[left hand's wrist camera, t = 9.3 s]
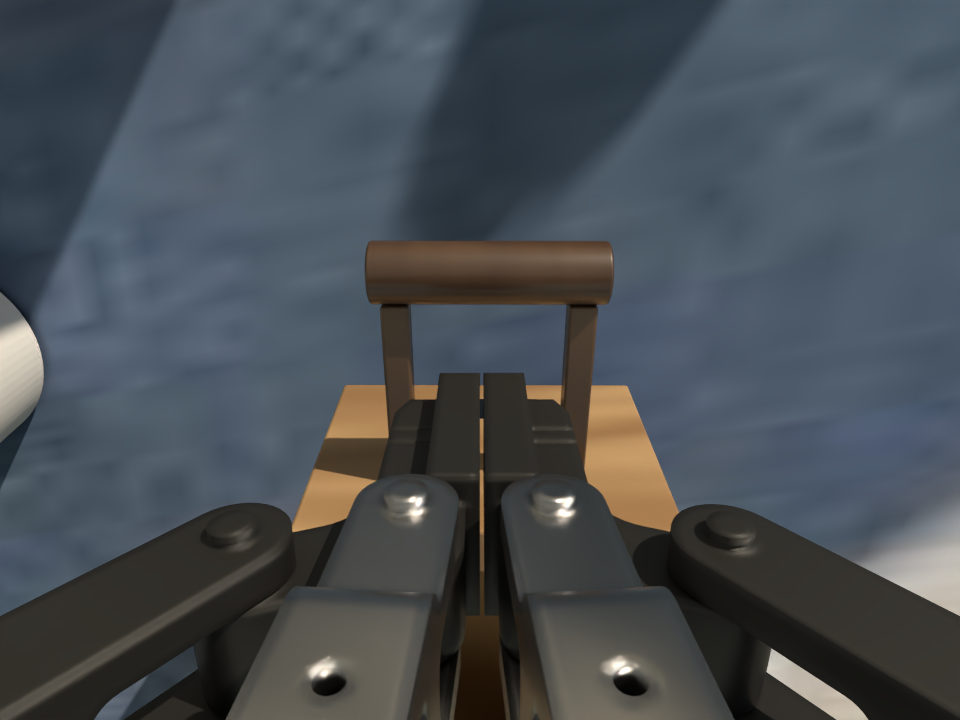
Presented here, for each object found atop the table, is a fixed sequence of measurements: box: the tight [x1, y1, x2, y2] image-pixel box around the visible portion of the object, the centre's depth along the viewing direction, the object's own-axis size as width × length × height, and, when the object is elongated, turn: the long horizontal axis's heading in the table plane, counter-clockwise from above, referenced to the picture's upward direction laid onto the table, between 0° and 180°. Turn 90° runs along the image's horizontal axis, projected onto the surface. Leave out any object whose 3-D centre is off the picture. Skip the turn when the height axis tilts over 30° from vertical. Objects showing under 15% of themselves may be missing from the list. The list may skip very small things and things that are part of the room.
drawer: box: [292, 241, 679, 720], centre depth 21 cm, size 26×9×7 cm, turn 0°
